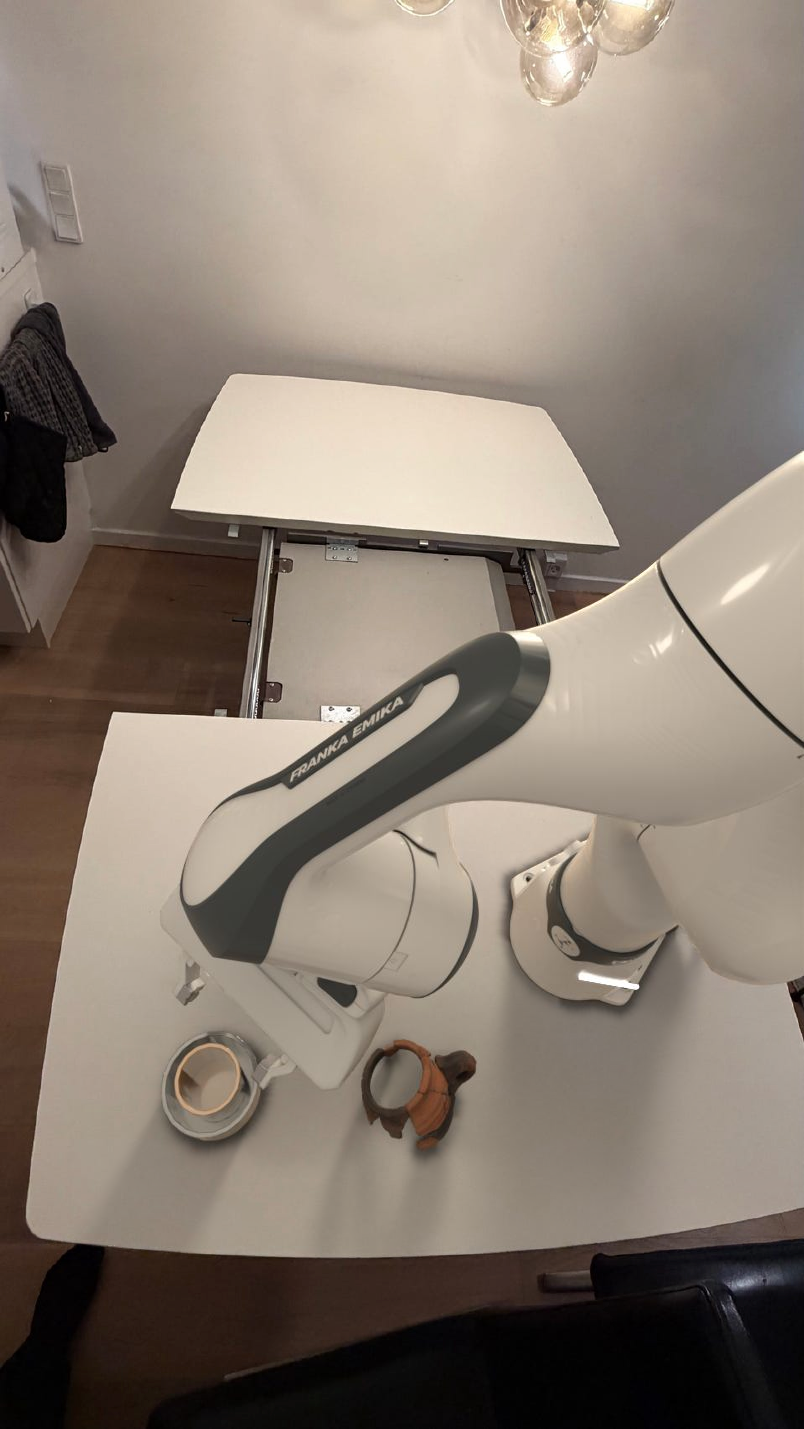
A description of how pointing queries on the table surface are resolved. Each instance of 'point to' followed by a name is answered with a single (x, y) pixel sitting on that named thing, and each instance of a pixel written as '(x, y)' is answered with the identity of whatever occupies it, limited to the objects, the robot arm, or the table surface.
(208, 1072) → the tan hollow cylinder
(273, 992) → the robot arm
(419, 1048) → the pottery mug
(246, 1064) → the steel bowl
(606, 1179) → the table surface
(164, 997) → the table surface
